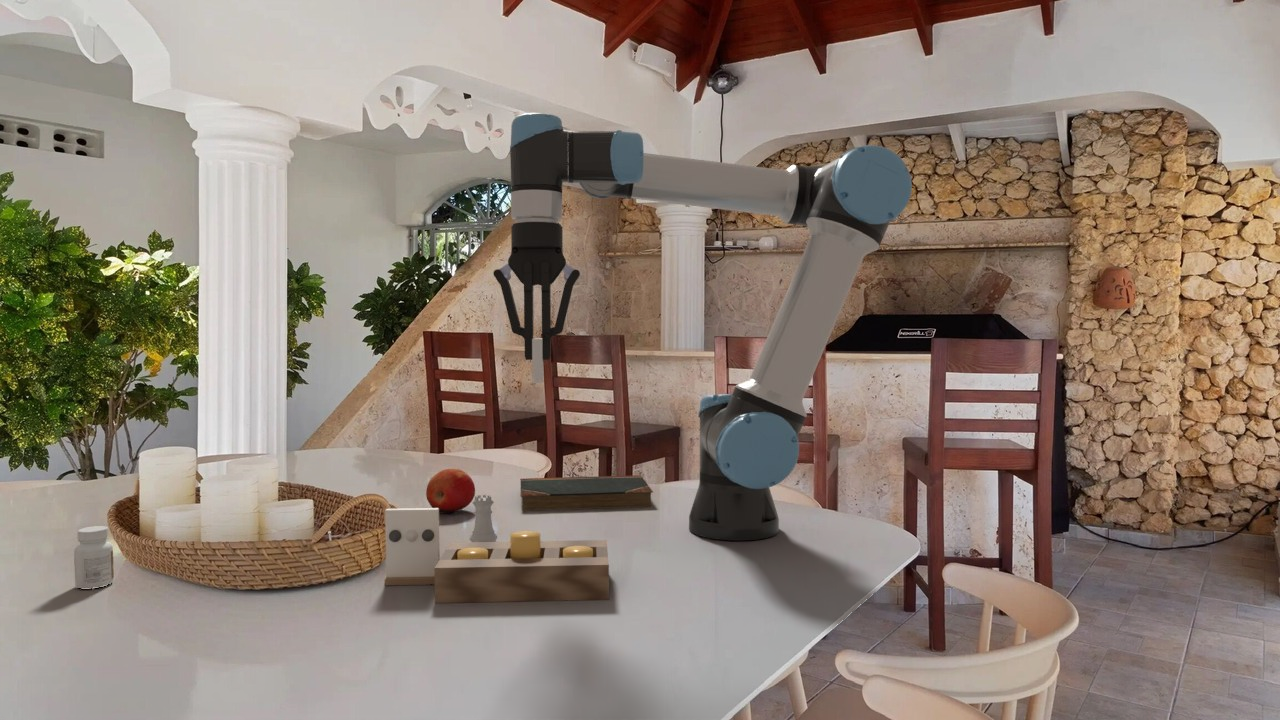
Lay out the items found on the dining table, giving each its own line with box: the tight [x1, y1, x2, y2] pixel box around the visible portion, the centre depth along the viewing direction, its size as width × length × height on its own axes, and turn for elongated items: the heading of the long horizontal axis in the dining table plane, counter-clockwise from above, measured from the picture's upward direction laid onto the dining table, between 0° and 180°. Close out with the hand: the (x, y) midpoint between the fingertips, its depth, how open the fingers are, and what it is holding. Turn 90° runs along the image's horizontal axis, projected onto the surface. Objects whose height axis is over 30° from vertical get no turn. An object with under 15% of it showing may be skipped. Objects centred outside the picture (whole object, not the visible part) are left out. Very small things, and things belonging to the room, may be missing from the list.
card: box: [384, 507, 441, 586], centre depth 116 cm, size 7×3×10 cm, turn 94°
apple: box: [425, 468, 476, 514], centre depth 157 cm, size 8×8×8 cm
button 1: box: [457, 548, 488, 560], centre depth 114 cm, size 4×4×4 cm
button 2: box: [563, 546, 593, 558], centre depth 115 cm, size 4×4×4 cm
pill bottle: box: [73, 525, 115, 589], centre depth 115 cm, size 4×4×8 cm
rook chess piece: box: [469, 494, 498, 542], centre depth 134 cm, size 4×4×8 cm
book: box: [520, 474, 654, 511], centre depth 169 cm, size 17×4×25 cm
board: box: [434, 539, 610, 604], centre depth 115 cm, size 22×12×4 cm, turn 94°
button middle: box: [509, 530, 541, 559], centre depth 114 cm, size 4×4×4 cm
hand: (537, 381), depth 127 cm, fingers closed
